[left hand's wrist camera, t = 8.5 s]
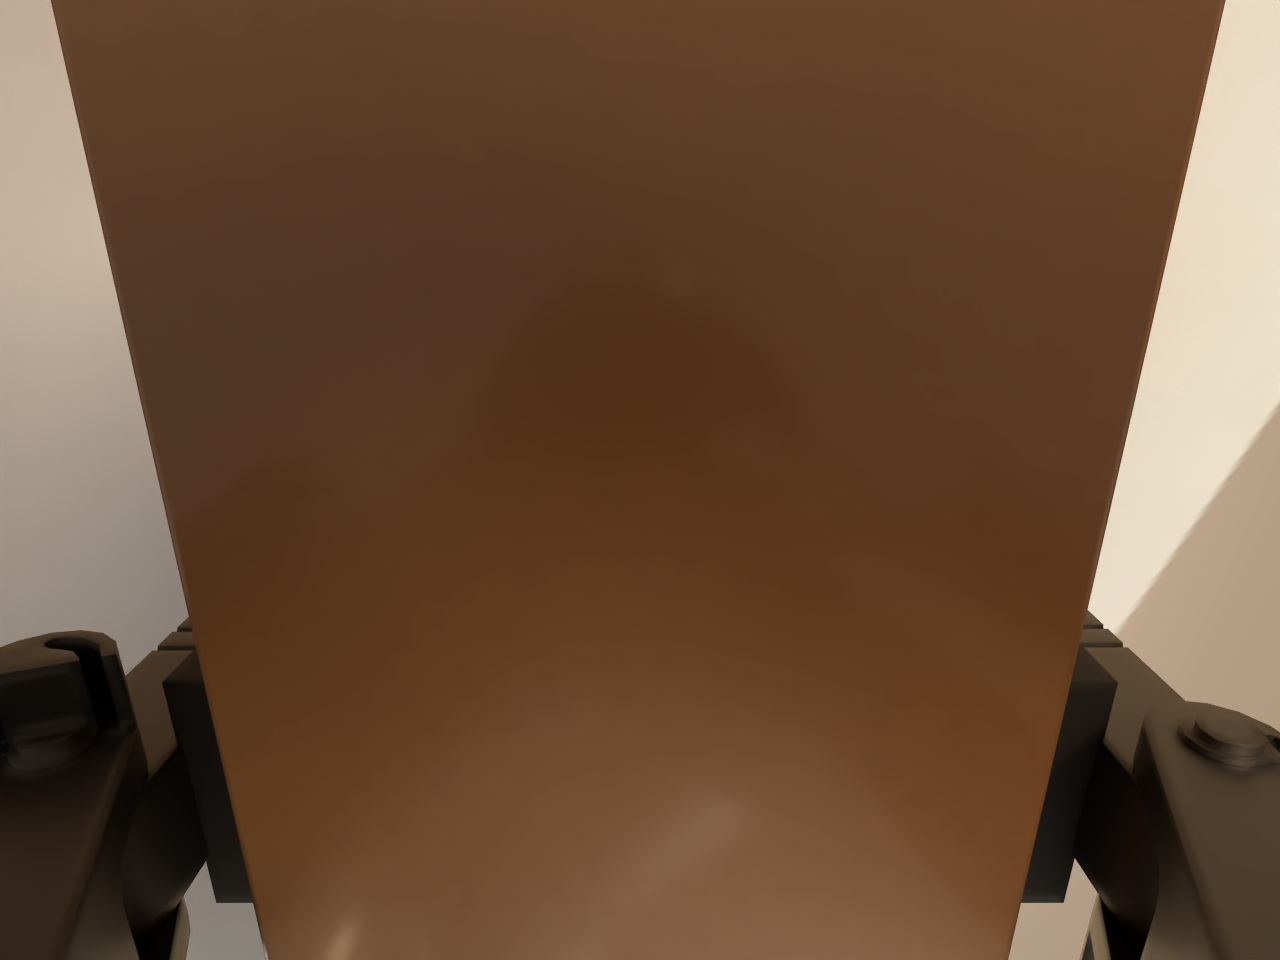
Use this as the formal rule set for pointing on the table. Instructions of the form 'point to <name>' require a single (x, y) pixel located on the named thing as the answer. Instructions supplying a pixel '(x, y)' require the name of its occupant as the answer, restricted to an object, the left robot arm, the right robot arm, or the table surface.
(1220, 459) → the table surface
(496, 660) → the bar
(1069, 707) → the left robot arm
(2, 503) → the table surface
